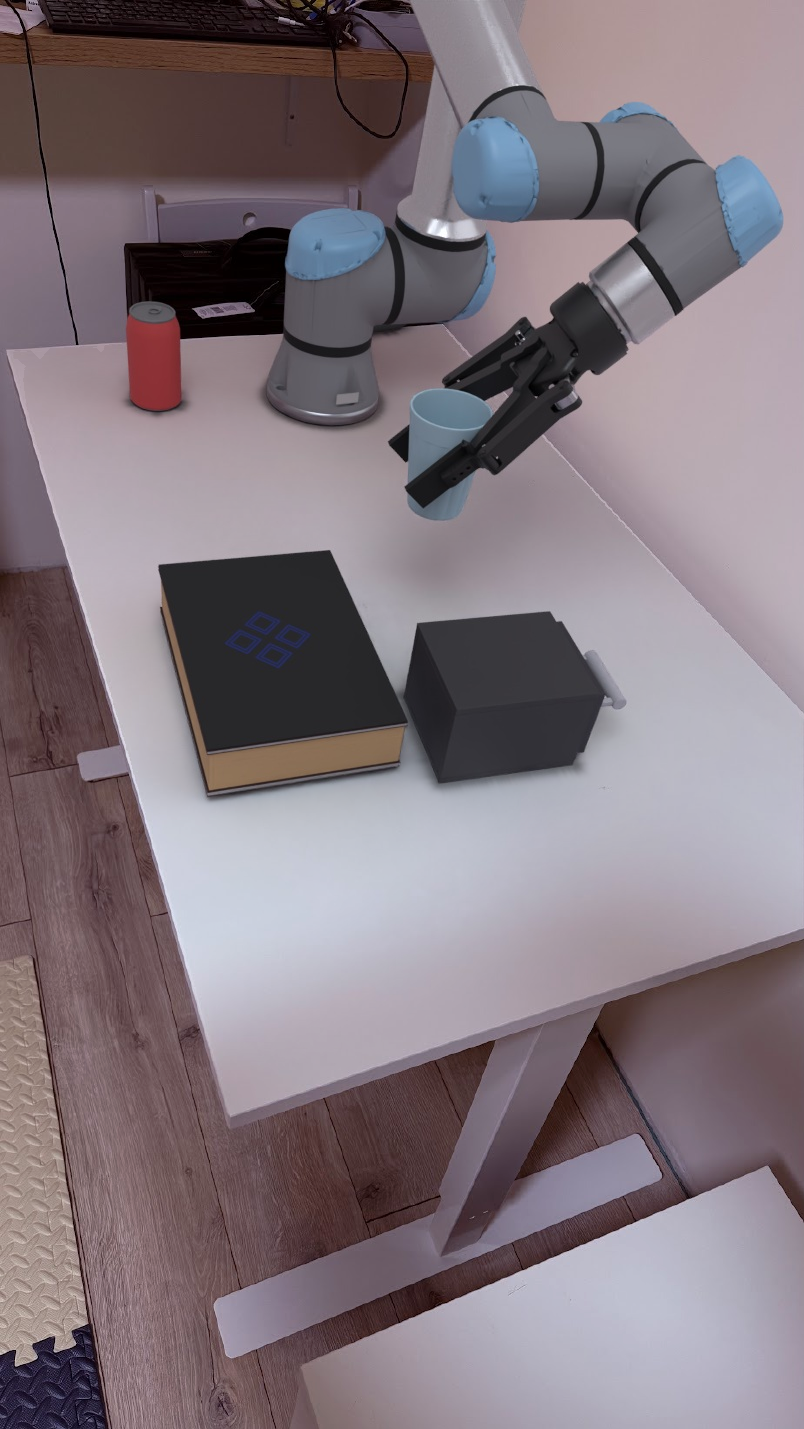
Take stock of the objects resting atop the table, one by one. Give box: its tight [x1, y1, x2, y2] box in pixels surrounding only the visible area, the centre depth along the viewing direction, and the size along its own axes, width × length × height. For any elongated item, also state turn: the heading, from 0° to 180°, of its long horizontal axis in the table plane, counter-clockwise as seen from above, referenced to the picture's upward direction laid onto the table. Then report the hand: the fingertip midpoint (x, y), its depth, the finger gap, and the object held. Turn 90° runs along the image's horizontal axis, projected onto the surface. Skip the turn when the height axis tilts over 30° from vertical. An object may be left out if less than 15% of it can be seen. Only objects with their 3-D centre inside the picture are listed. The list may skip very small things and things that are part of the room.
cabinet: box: [403, 610, 599, 784], centre depth 94 cm, size 13×11×9 cm
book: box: [157, 549, 409, 798], centre depth 95 cm, size 17×25×7 cm
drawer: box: [556, 620, 627, 754], centre depth 95 cm, size 16×10×8 cm, turn 107°
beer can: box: [125, 300, 182, 412], centre depth 128 cm, size 7×7×12 cm
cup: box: [406, 387, 494, 522], centre depth 96 cm, size 8×8×10 cm
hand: (405, 474), depth 96 cm, fingers closed on cup, 7 cm apart
